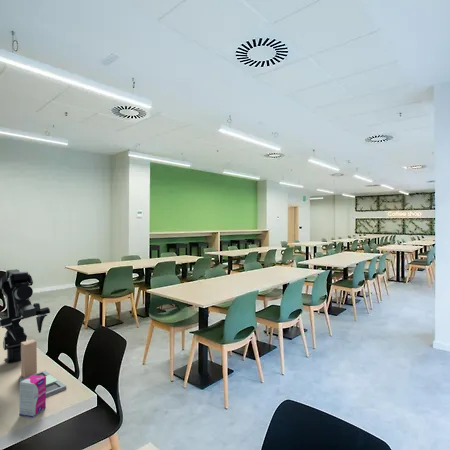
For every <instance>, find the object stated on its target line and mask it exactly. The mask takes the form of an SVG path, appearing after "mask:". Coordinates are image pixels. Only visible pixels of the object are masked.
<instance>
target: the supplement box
mask: <svg viewBox="0 0 450 450" xmlns="http://www.w3.org/2000/svg"><path fill="white" fill-rule="evenodd" d="M46 400H47V397H46V376H38V375H32V376H30V377H28V378H26V379H25V380H23V381H21V382H19V405H18V407H19V411H18V412H19V414H18V415H19V416H20V417H27V418H34V417H35V416H37V415H38V414H39V413H42V411H43V410H45V409H46V402H47V401H46Z"/></svg>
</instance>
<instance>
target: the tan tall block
mask: <svg viewBox="0 0 450 450" xmlns="http://www.w3.org/2000/svg"><path fill="white" fill-rule="evenodd" d="M37 343H38V342H37V341H36V340H35V339H30V340H26V341H25V342H21V360H20V363H21V364H20V365H21V366H20V367H21V368H20V371H21V372H20V373H21V374H20V375H21V376H22V378H24V377H27V376H30V375H33V374H36V373H38V372H37V371H38V367H37V365H38V362H37V358H38V357H37V355H38V354H37V353H38V352H37V351H38V349H37V348H38V347H37Z"/></svg>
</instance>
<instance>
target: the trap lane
mask: <svg viewBox="0 0 450 450" xmlns="http://www.w3.org/2000/svg"><path fill="white" fill-rule="evenodd" d="M33 375H38V376H46V398H47V397H50V396H51V395H54V394H57V393H60V392H62V391H64V390H67V385H66V384H64V383H63V382H62V381H60V380H59V379H58V378H56V377H55V376H54V375H52V374H51V373H50V372H48V371H47V370H46V369H45V370H42V371H39V372H37V373H36V374H33ZM30 376H32V375H30ZM30 376H27V377H21V378H19V379H18V382H19V383H20V382H21V381H23V380H25V379H26V378H28V377H30Z"/></svg>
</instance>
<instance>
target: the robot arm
mask: <svg viewBox="0 0 450 450" xmlns="http://www.w3.org/2000/svg"><path fill="white" fill-rule="evenodd" d="M33 284H34V280H33V277H32V275H31V274H30V273H29V271H26V270H25V271H20V270H19V269H8V270H6V271H5V274H4V275H2V277H0V290H1V293H2V294H3V296H4V297H5V299H6V310H7V317H4V318H1V319H0V327H1V328H2V329H5V330H6V332H5V334H4V336H3V341H2V348H3V350H4V351H6V353H7V354H6V355H7V356H6V357H5V358H4V361H5V362H6V363H7V364H12V363H15V362H18V361H21V342H25V341H27V340H28V335H27V334H26V332H25V329H24V327H23V326H22V325H20V321H21V320H24V319H29V318H32V317H35V316H36V317H35V318H36V319H35V320H36V326H37V331H38V334H41V333H42V328H43V322H44V320H45V317H47V316H48V314H50V313H51V310H50V308H49V307H43V308H41V304H40V302H35V303H33V304H32V302H31V300H30V298H31V297H32V296H33V294H34V291H33V288H32V287H31V286H33Z"/></svg>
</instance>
